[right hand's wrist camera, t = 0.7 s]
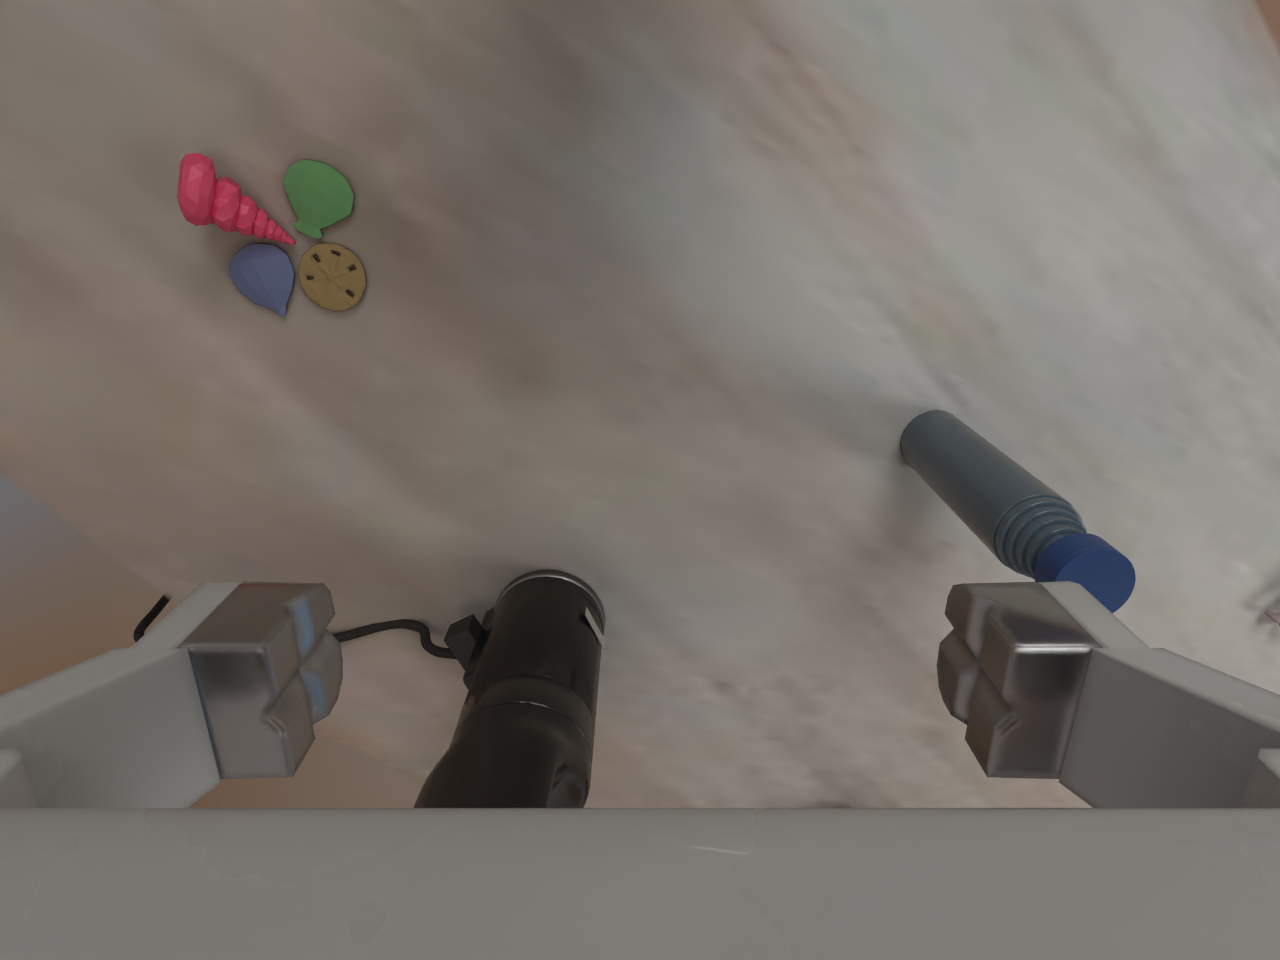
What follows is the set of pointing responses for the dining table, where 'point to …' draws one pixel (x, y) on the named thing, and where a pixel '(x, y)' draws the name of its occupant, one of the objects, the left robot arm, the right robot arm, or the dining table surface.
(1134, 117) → the dining table surface
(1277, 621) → the figurine
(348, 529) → the dining table surface
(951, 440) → the bottle
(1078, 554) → the cap
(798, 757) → the dining table surface
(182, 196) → the toy pieces
